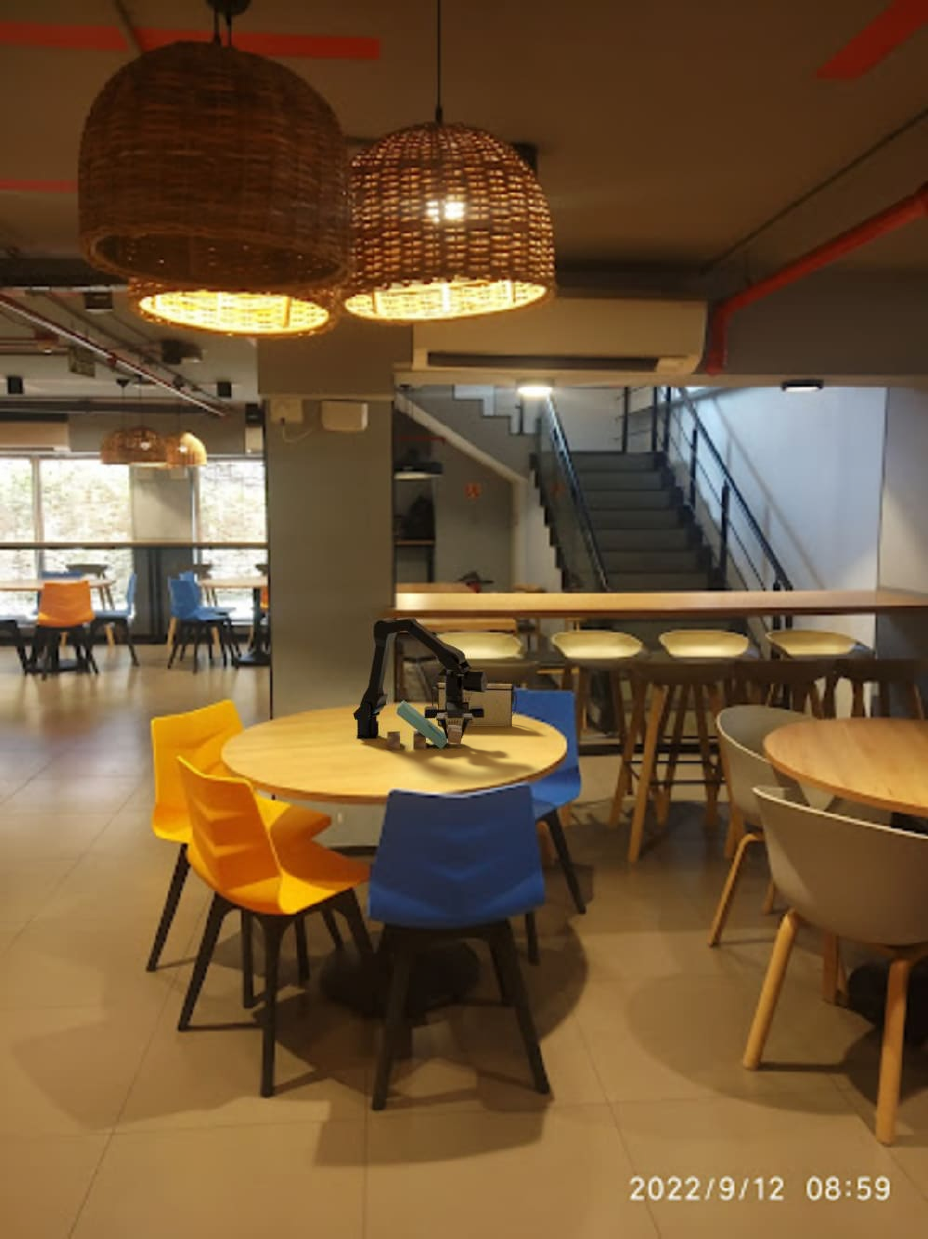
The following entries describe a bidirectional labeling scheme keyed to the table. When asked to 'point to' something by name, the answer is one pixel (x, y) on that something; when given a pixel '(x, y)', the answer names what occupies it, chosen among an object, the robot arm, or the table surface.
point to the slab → (421, 724)
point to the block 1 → (393, 740)
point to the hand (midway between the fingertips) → (454, 738)
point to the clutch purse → (484, 704)
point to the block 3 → (454, 734)
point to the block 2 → (419, 740)
